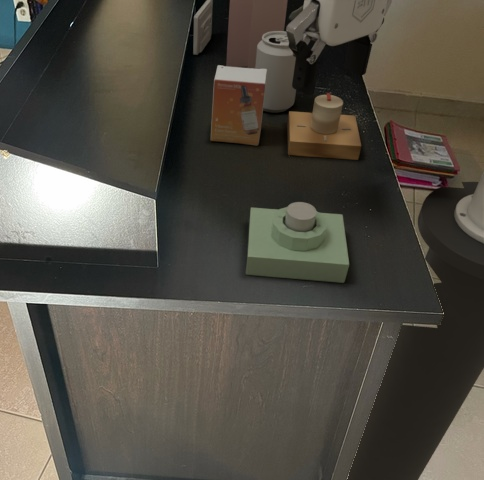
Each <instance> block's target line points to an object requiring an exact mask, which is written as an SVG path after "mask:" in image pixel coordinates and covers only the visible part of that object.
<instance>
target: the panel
mask: <svg viewBox="0 0 484 480" xmlns="http://www.w3.org/2000/svg"><path fill="white" fill-rule="evenodd" d="M287 116H288V117H287V123H286V129H287V131H286V132H287V133H286V134H287V155H288V156H295V157H296V156H297V157H309V158H310V157H312V158H325V159H339V160H353V161H356V160H357V161H359V158H360V154H361V150H362V142H361V138H360V137H361V136H360V132H359V127H358V122H357V117H356V115H352V114H351V115H350V114H341V116H340V121H339V126H338V130H337V131H336V132H335V133H332V134H321V133H317V132H315V131H313V130H312V129H311V127H310V124H311V118H312V112H307V111H305V112H304V111H292V110H291V111H290V110H289V111H288V115H287Z"/></svg>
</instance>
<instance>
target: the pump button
mask: <svg viewBox="0 0 484 480" xmlns="http://www.w3.org/2000/svg"><path fill="white" fill-rule="evenodd" d="M286 207H287V210H286V216H285V226H286V227H287V228H288V229H291V230H293V231H295V232H308V231H311V230H312V229H313V228H314V224H315V219H316V214H317V209H316V208H315V206H314V205H312V204H310V203H309V202H308V203H307V202H305V201H295V202H291V203H290V204H289V205H288V206H286Z"/></svg>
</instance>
